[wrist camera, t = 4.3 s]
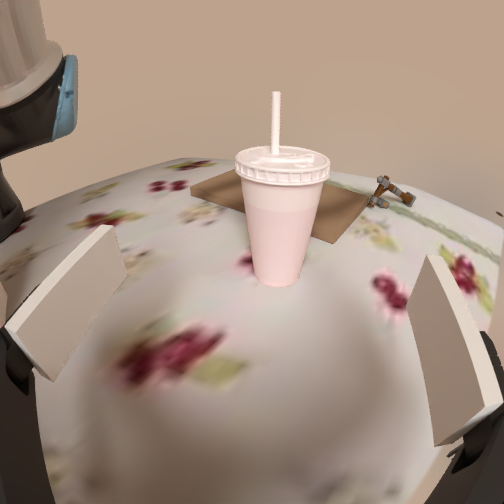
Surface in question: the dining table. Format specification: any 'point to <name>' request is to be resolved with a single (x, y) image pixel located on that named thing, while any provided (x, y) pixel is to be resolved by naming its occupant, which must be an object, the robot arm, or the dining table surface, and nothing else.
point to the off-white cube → (2, 305)
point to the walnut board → (327, 215)
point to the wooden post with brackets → (384, 182)
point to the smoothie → (280, 203)
